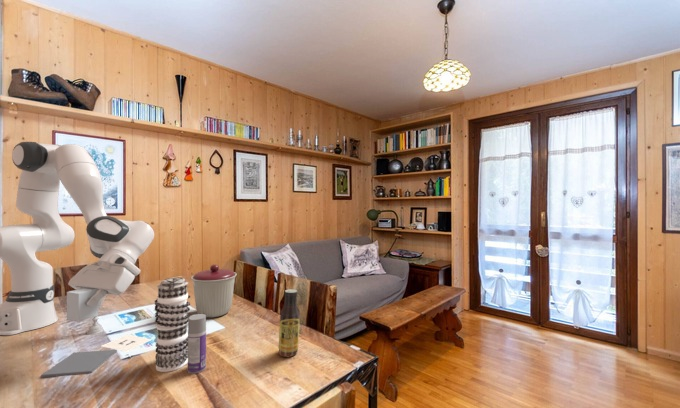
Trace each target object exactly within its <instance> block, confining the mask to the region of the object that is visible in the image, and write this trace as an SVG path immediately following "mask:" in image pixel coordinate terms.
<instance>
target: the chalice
mask: <svg viewBox="0 0 680 408" xmlns="http://www.w3.org/2000/svg"><path fill="white" fill-rule="evenodd" d="M106 297H107V294H106V295H105V296H104V297H103V298H101V299H100V300H98V309H100V308H101V306H102V304H103V303H104V301H105V299H106ZM91 320H92V321H93V324H92V325H90V326H89V328H88V330H87V332H86V333H85V334H86V335H91V336H92V335H96V334H99V333H103V332H104V328H103V327H102V325H101V324H99V323H98V320H99V317H98V316H95V317H92V319H91Z"/></svg>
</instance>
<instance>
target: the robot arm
mask: <svg viewBox="0 0 680 408" xmlns="http://www.w3.org/2000/svg"><path fill="white" fill-rule="evenodd" d="M11 158H12V163H13V164H14V166H16V168H17V169H19V170H21V173H20V175H19V180H18V184H17V194H16V202H15V207H16V208H17V210H18V211H19V212H21V213H22V214H24V215H25V214H26V215H27V216H30V217H31V218H32V223H28V224H8V225H3V226H0V260H2V261H3V262H4V263H5V264H6V265H7V267H8V269H9V272H10V280H11V281H10V283H11V284H10V285H11V289H10V290H9V291H8V292H5V293H2V298H4V297H6V298H5V301H3V302H2V303H1V304H0V336H13V335H16V334H20V333H23V332H27V331H33V330H36V329H40V328H44V327H47V326H49V325H52V324H54V323H56V322H57V321H58V320H59V318H58V316H57V311H56V307H55V303H54V297H55V285H54V283H53V282H54V281H53V280H54V267H53V266H52V265H51V264H50V263H48V262H46V261H43V260H39V259H38V258H37V256H36V253H38V252H39V253H40V252H47V251H55V250H59V249H63V248H65V247H69V246H70V245H72V243H74V241H75V236H76V234H75V233H76V232H75V230H74V229H73V227H72V226H70V225H69V224H68V223H66V222H65V221H64V220H63V219H62V217H61V215H60V212H59V208H58V207H59V196H60V195H59V194H60V184H61V183H62V184H61V185H63V188H65V191H67V193H68V194H69V196H70V198H71V199H72V200H73V202H74V203H75V204H76V206H77V207H78V209H79V210H80V212H81V214H82V216H83V218H84V220H85V222H86V223H85V224H87V226H86V228H85V230H86V236H87V240H88V244H89V251H90V253H91V254H92V255H93V256H94V257H95V258H98V260H97V262H96V261H95V262H93V263H91V264H88V265H85V266H84V267H82V268H80V270H79V271H78V272H77V273H75V275H73V276H72V277H71V278H70V280H68V286H70V287H71V288H73V289H74V290H77V289H82V288H86V287H87V288H94V289H98V290H97V292H96V294H95V295H94V296H93V297H91V298H88V299H87V301H86V302H85V305H87V306H91V307H92V306H93V305H94V304H95V303H96V302H97V301H98V300H100V299H101V298H103V297H104V296H105V295H106V296H107V294H108V295H114V296H115V295H117V296H119V295H122V294H123V293H125V292H126V290H127V289H128V288H129V287H130V286H131V284H132V283H133V282H134V281H135V278H136V276H138V275H139V274H140V273H141V269H140V268H138V266H136V265H135V264H136V262H137V260H138V258H139V257H141V255H142V254H144V253H145V251H146V250H147V249H148V248H149V247H150V245H151V243H152V242H153V241H154V238H155V231H154V229H153V227H152V226H151V225H150V224H149V223H147V222H145V221H144V220H124V219H119V218H116V217H115V216H109V215H108V214H107V213H106V209H105V206H104V192H103V181H102V175H101V173H100V170H99V168H98V166H97V163H96V162H95V161H94V158H93V157H92V154H91V153H90V152H88V151H87V150H86V149H85V148H84V147H82V146H81V145H78V144H75V143H74V144H73V143H66V144H62V145H60V144H54V143H53V144H52V143H51V144H50V143H43V142H42V143H41V142H35V141H21V142H19V143H17V144H15V146H14V147H13V149H12V153H11ZM60 182H61V183H60ZM106 296H105V297H106Z"/></svg>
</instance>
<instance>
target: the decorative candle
mask: <svg viewBox="0 0 680 408" xmlns="http://www.w3.org/2000/svg"><path fill="white" fill-rule="evenodd" d="M188 285H189V281H186V279H185V278H184V277H178V276H177V277H170V278H165V279H163V280H162V281H161V282H160V283H159V284H158V285H156V287H157V290H158V291H157V298H156V299H155V300H154V310H155V313H154V316H155V317H154V318H155V320H154V322H155V323H156V324H155V328H156V329H157V337H156V343H155V347H156V348H155V353H156V354H155V362H154V363H155V370H156V371H157V372H160V373H169V372H174V371H177V370H179V369H181V368H183V367H185V366H186V365H188V322H189V317H190V314H189V313H188V312H189V311H190V310H191V308H190V307H189V306H190V305H191V303H190V301H187V300H189V299H190V298H191V295H189V291H188Z"/></svg>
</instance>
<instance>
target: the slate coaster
mask: <svg viewBox="0 0 680 408" xmlns="http://www.w3.org/2000/svg"><path fill="white" fill-rule="evenodd" d="M117 351H118V350H116V349H109V350H94V351H93V350H92V351H81V352H80V351H79V352H72V353H71V354H69V355H68V356H67V357H65V358H64V359H62V360H61V361H59V362H58V363H56V364H55V365H53V366H51V368H49V369H48V370H46V371H45V372H43V373H42V374H41V375H40V377H41V378H40V379H44V378H45V379H46V378H54V377H55V378H56V377H59V376H73V375H85V374H93V372H95V371H96V370H97V369H98V368H100V366H102V365H103V364H104V363H105V362H106V361H108V360H109V359H110V358H111V357H112V356H113V355H114V354H116V353H117Z"/></svg>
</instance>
